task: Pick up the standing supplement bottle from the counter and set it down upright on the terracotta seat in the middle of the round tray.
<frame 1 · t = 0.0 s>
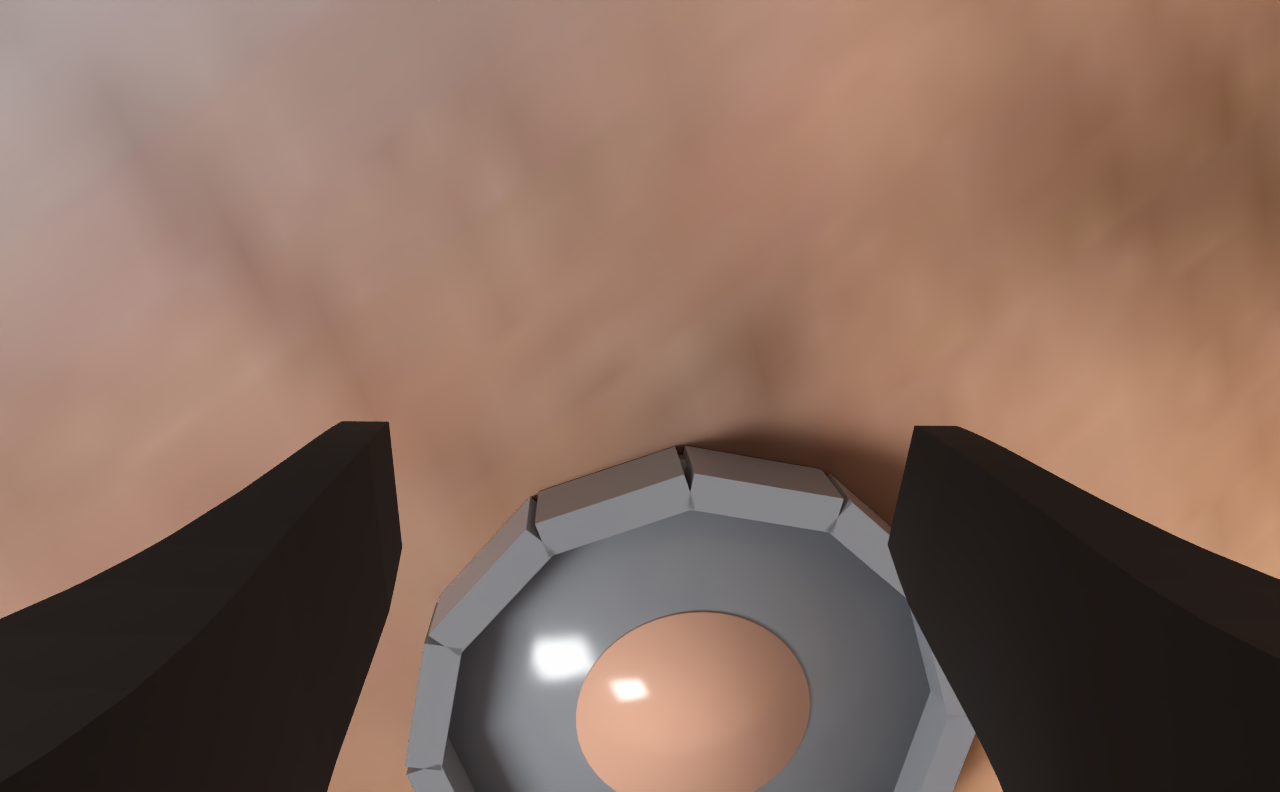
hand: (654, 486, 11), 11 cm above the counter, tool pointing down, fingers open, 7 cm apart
round tray: (689, 696, 25), on the counter
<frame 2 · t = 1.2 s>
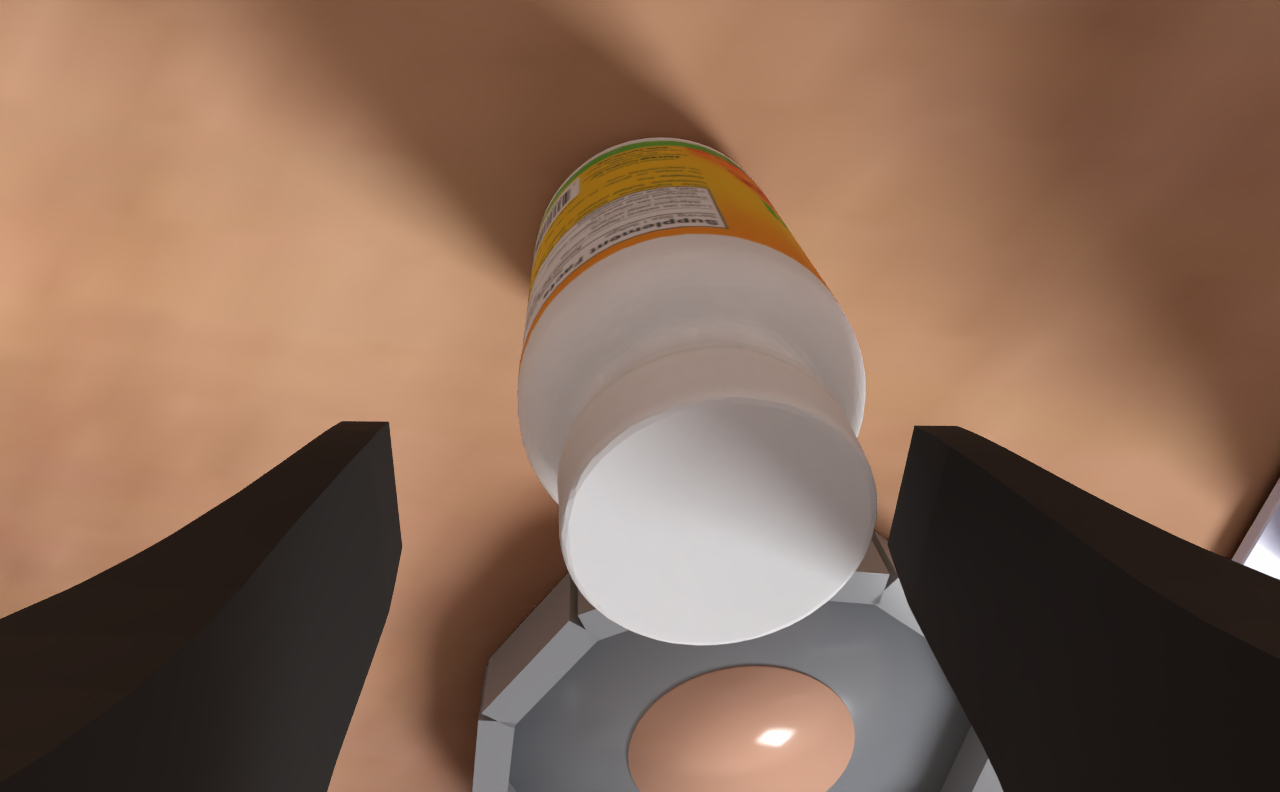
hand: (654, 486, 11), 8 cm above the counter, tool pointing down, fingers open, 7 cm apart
supplement bottle: (655, 250, 18), on the counter
round tray: (737, 727, 26), on the counter
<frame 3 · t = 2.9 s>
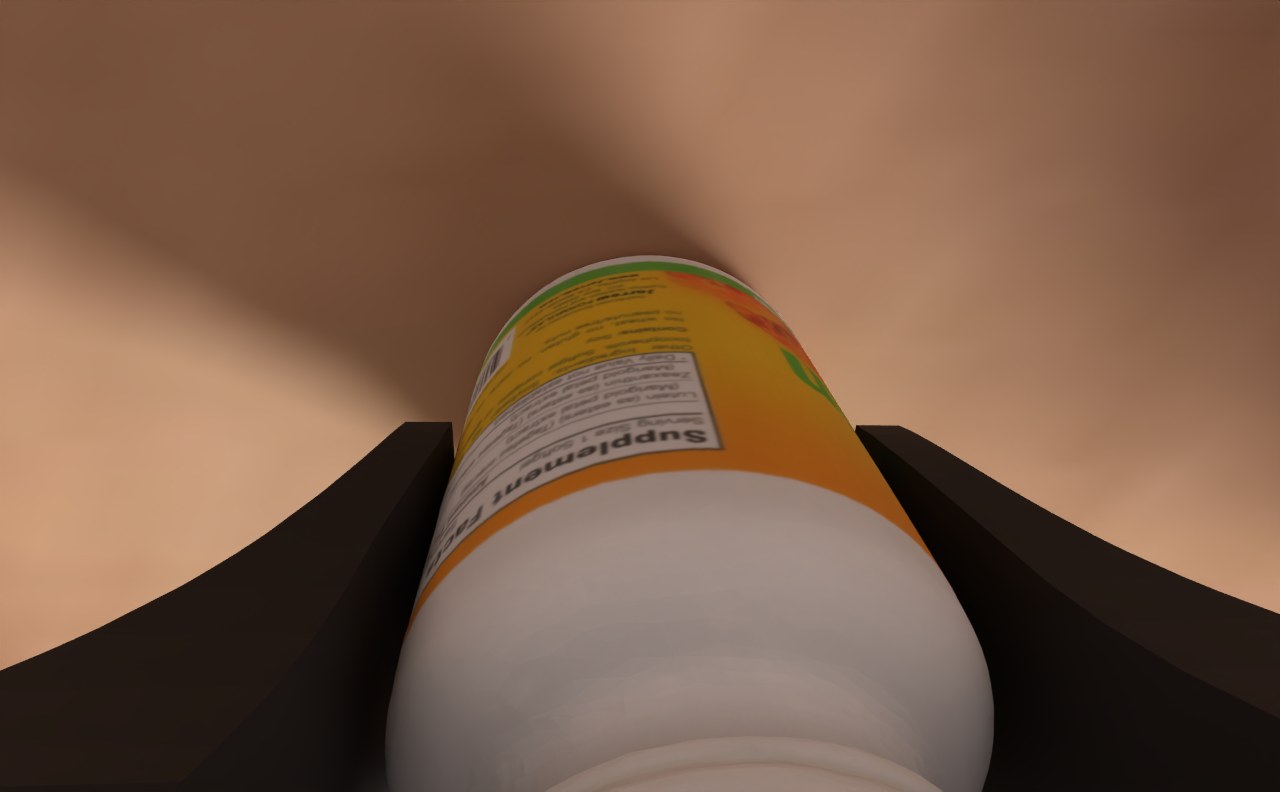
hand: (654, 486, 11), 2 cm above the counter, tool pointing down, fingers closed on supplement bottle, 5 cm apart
supplement bottle: (641, 400, 13), on the counter, touching gripper
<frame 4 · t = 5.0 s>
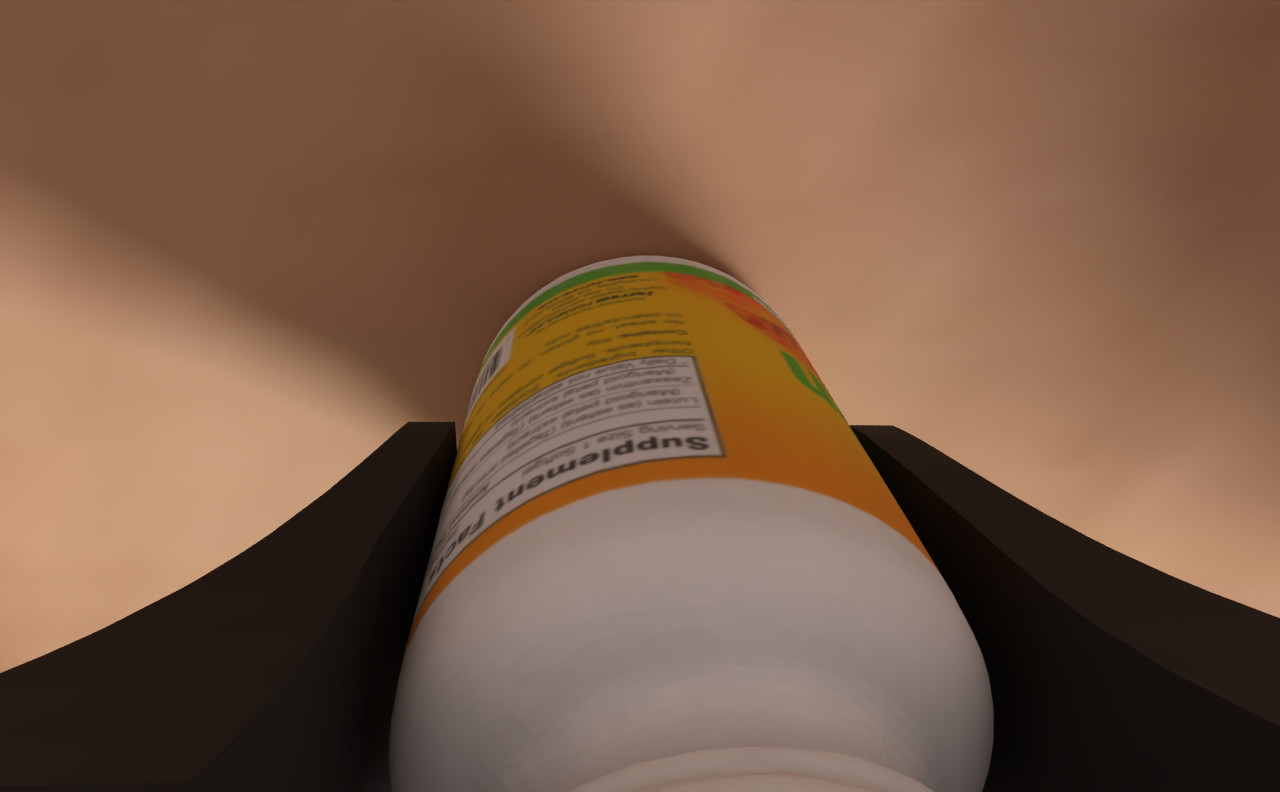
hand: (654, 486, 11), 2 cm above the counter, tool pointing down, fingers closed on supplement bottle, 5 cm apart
supplement bottle: (640, 400, 13), on the counter, touching gripper
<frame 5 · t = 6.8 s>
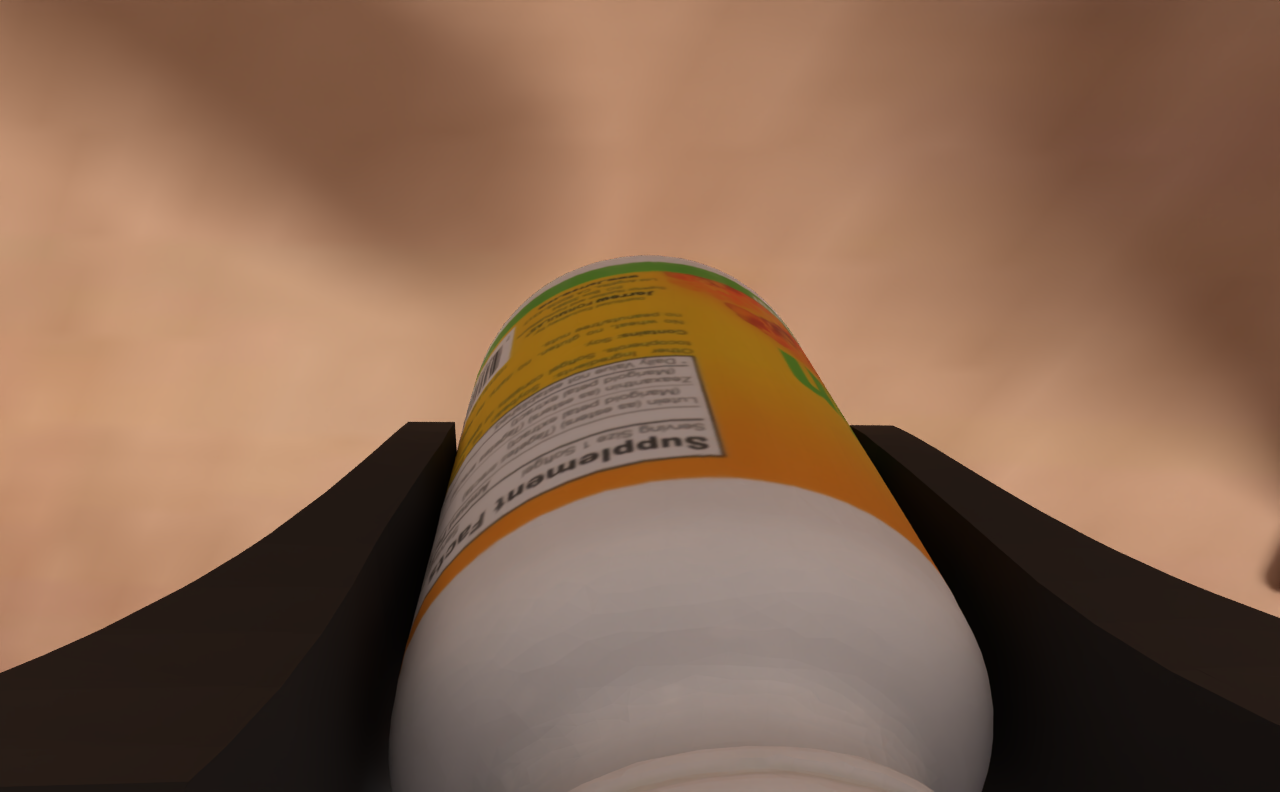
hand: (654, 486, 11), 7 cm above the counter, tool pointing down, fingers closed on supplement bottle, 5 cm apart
supplement bottle: (640, 400, 13), point 4 cm above the counter, touching gripper
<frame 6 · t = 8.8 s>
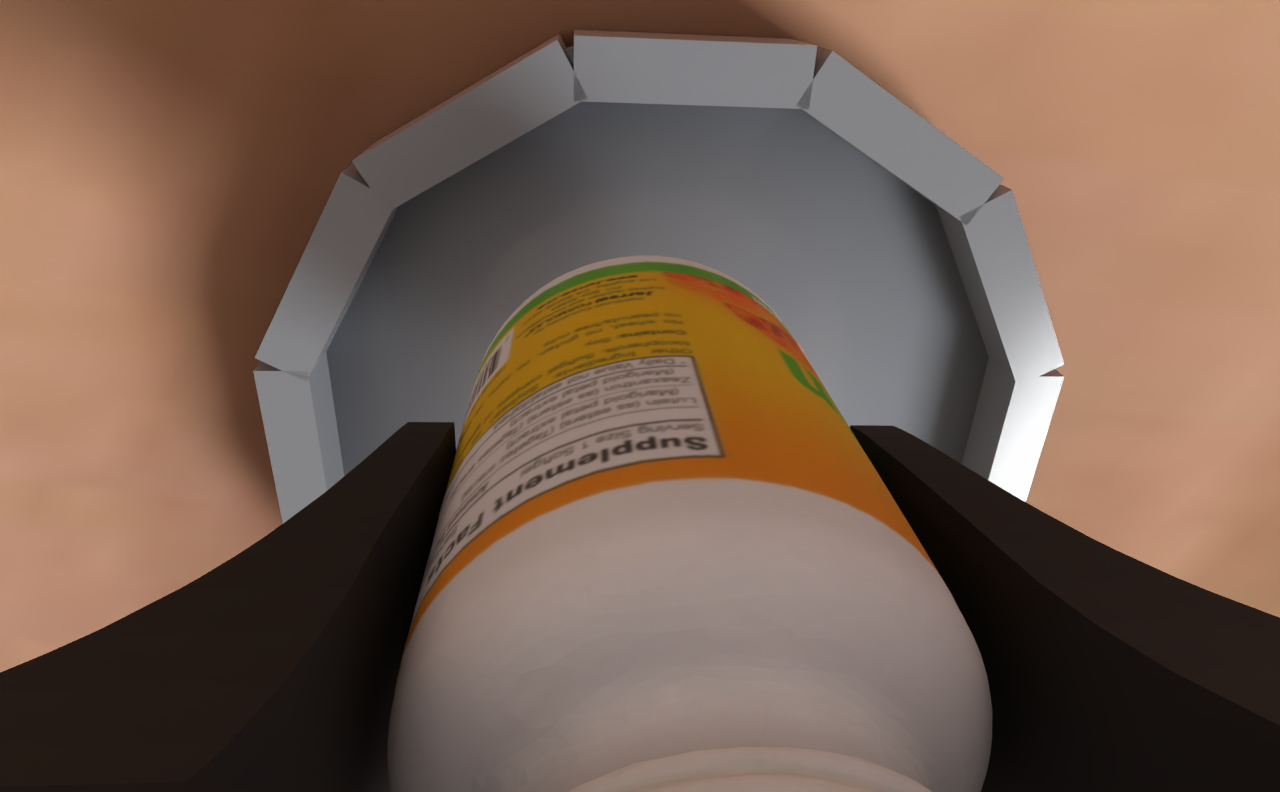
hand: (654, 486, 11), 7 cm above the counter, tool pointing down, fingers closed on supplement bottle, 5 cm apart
supplement bottle: (639, 400, 13), point 4 cm above the counter, touching gripper
round tray: (660, 415, 19), on the counter
when the fingers open (4 cm above the counter, at t = 10.7 s): supplement bottle stays where it is, resting on round tray.
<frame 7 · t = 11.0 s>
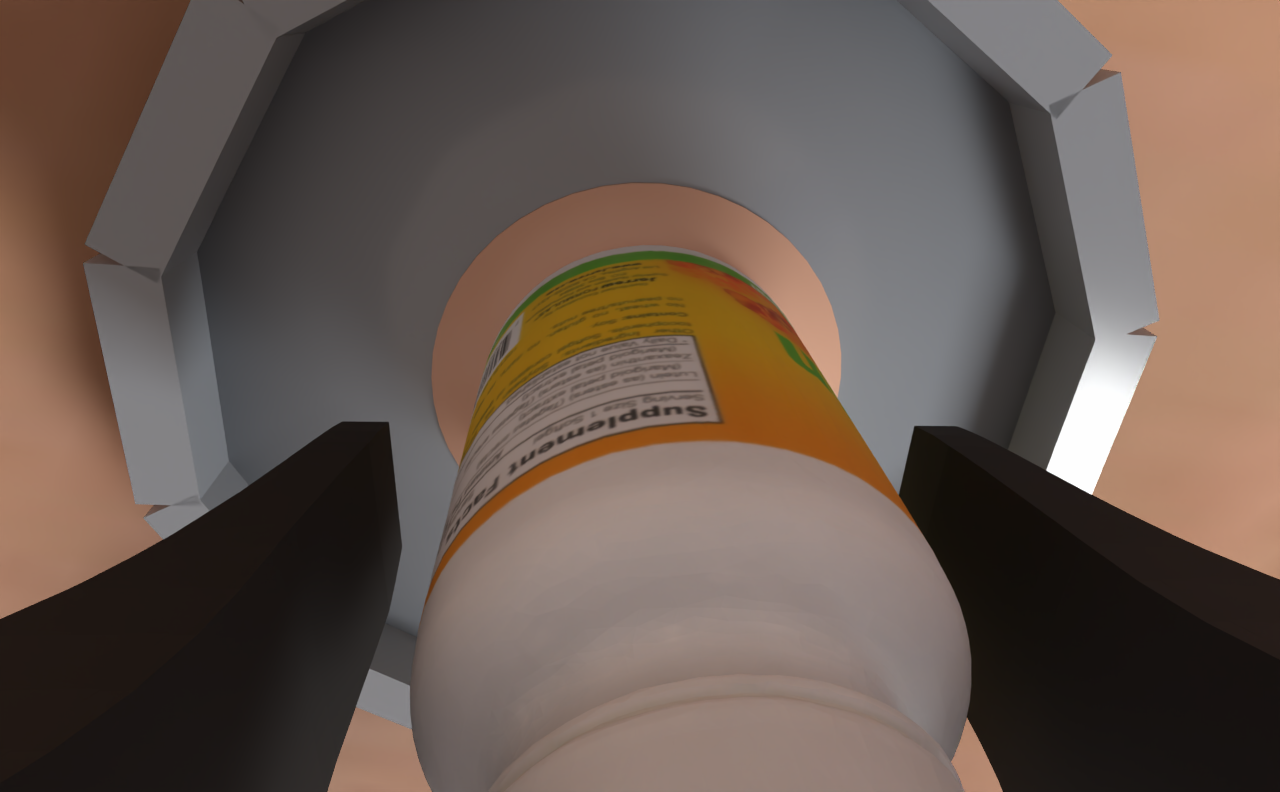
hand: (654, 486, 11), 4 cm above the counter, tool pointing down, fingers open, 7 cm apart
supplement bottle: (642, 385, 14), point 1 cm above the counter, touching round tray
round tray: (636, 367, 15), on the counter
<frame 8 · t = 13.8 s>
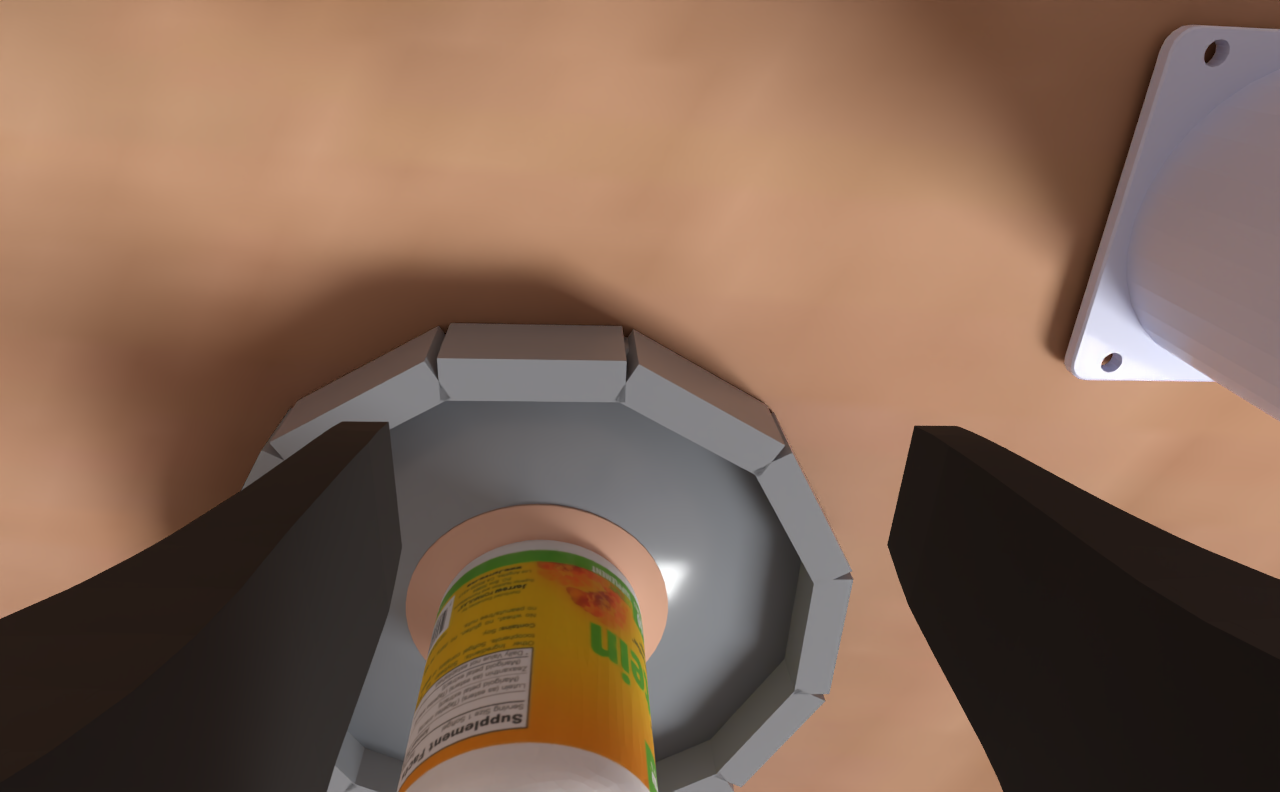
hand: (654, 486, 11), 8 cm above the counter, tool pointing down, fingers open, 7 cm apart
supplement bottle: (541, 609, 22), point 1 cm above the counter, touching round tray
round tray: (540, 591, 23), on the counter
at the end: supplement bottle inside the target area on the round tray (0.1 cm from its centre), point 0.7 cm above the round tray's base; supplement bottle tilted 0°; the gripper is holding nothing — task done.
